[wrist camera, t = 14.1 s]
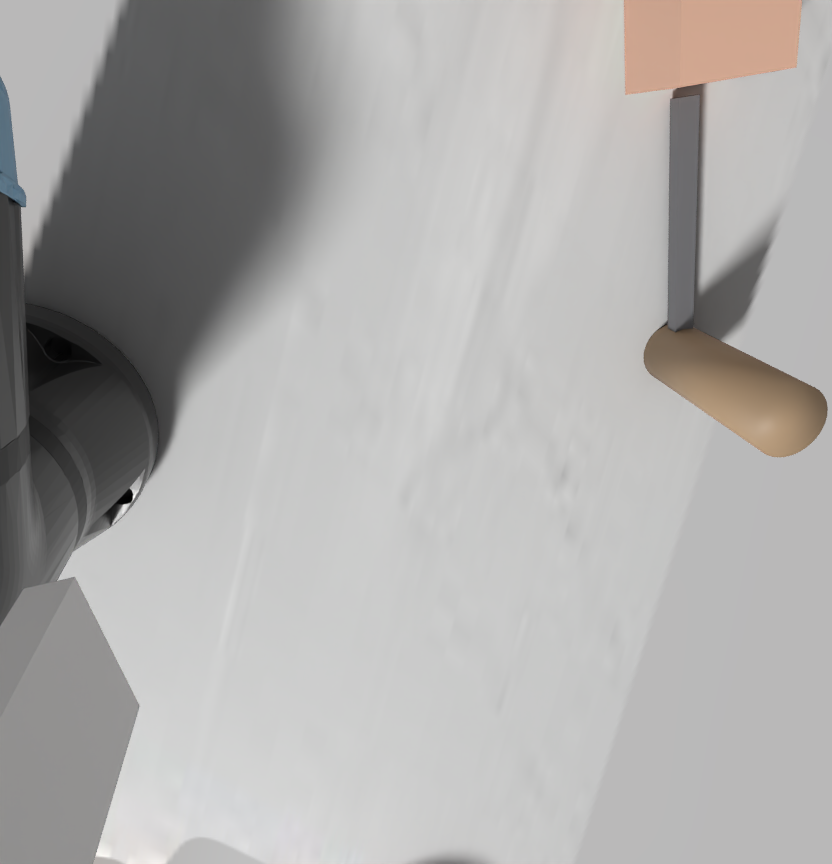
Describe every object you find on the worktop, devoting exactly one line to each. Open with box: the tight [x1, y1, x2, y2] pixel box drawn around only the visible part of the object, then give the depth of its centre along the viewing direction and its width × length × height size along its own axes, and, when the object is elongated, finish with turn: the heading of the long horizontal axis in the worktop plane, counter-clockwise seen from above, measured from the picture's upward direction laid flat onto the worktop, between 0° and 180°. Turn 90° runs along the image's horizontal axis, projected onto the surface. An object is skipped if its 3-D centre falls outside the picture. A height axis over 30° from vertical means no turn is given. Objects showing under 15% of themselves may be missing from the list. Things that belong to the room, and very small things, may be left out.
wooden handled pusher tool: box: [624, 0, 827, 457], centre depth 34 cm, size 6×24×12 cm, turn 9°
